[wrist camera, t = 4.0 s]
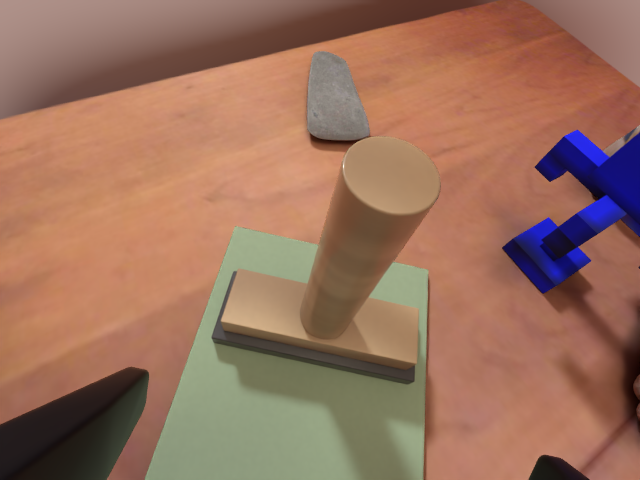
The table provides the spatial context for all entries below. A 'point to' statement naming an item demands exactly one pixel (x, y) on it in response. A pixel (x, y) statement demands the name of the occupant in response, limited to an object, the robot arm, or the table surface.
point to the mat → (291, 394)
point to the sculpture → (637, 394)
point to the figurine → (614, 203)
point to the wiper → (344, 273)
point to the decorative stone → (334, 101)
